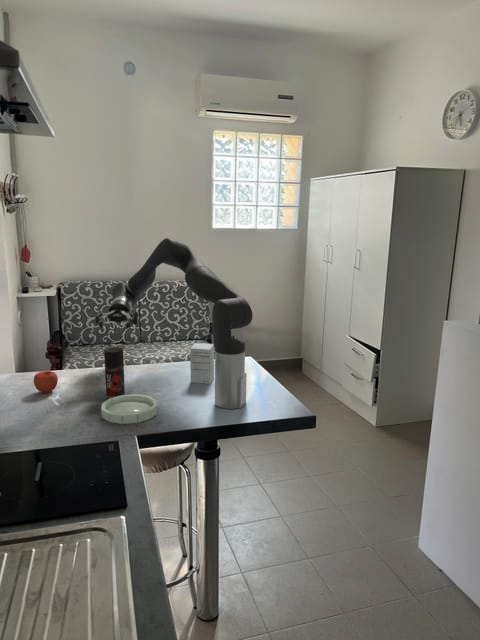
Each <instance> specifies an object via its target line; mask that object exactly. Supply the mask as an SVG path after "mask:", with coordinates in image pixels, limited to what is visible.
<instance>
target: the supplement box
mask: <svg viewBox="0 0 480 640" xmlns="http://www.w3.org/2000/svg"><path fill="white" fill-rule="evenodd" d="M189 353H190V355H189V356H190V357H189V358H190V359H189V360H190V366H189V367H190V383H192V384H193V383H194V384H206V385H207V384H209V385H210V384H211V383H212V382H213V380H214V379H215V344H214V343H197V342H196V343H194V344H193V345H192V346H191V347H190V349H189Z"/></svg>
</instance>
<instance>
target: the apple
mask: <svg viewBox="0 0 480 640" xmlns="http://www.w3.org/2000/svg"><path fill="white" fill-rule="evenodd" d="M58 380H59V377H58V375H57V373H56V372H54V371H51V368H49V370H41V371H39V372H37V373H35V374H34V376H33V385H34V387H35V388H36V390H37V391H38V392H41V394H46V395H47V394H49V393H51V392H52V391H54V390H55V389H56V387H57V385H58V382H59V381H58Z"/></svg>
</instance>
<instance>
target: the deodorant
mask: <svg viewBox="0 0 480 640" xmlns="http://www.w3.org/2000/svg"><path fill="white" fill-rule="evenodd" d="M103 352H104V353H103V354H104V375H105V393H106V394H105V395H106V396H107V397H109V398H114V397H117V396H121V395H122V396H123V395H126V391H125V389H126V388H125V368H124V365H125V364H124V363H125V361H124V349H123V348H122V347H120V346H119V347H118V346H111V347H107V348H105V349H104V350H103Z"/></svg>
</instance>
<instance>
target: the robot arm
mask: <svg viewBox="0 0 480 640" xmlns="http://www.w3.org/2000/svg"><path fill="white" fill-rule="evenodd" d="M162 264H165V265H168V266H170V267H174V268H177V269H179V270H181V271H182V272H183V273H184V281H185V284H186V286H187V287H188V288H189V289H190V290H191V291H192V292H193V293H194V294H195V295H196V296H197V297H199V298H200V299H203V300H204V301H207V302H210V303H212V304H213V305H212V306H213V308H212V313H211V314H212V315H211V316H212V337H213V344H214V405H215V406H216V407H219V408H221V409H227V410H228V409H231V410H232V409H242V407H244V405H245V403H246V402H247V376H248V375H247V373H246V372H245V371H246V367H245V366H246V343H245V341H244V340H242V339H240V338H237V337H233V336H232V330H235V329H236V330H237V329H242V328H245V327H247V326H249V325H250V324H251V323H252V321H253V316H254V315H253V310H252V308H251V306H250V304H249V303H248V301H247V300H246V299H245V298H244V297H243V296H242V295H240V294H238V293H237V292H236V291H234V290H232V288H230V287H229V286H228V285H227V284H226V283H225V282H224V281H222V280H221V279H220V278H219V277H218V276H217V275H216V274H215V272H213V271H212V270H211V269H210V268H209V267H208V266H207V265H206V264H205V263H204V262H202V261H201V260H200V259H199V258H198V257H197V256H196V254H195V253H194V252H193V250H192V249H191V247H190V246H189V245H187V244H186V243H184V242H182V241H179V240H176V239H173V238H169V237H166V238H163V240H161V241H160V242H159V243H158V244H157V246H156V247H155V248H154V250H153V251H152V252H151V254H150V256H149V257H148V258H147V260H146V261H145V263H144V264H143V266H141V268H140V269H139V270H138V271H137V272H136V273H134V274H133V275H132V276H131V277H130V278H129V279H128V281H127V283H126V282H124V281H123V282H118V283H116V285H115V286H113V289H112V292H111V294H112V295H111V296H112V302H111V304H110V306H109V308H108V311H106V312H103V311H102V310H98V311H97V313H96V314H95V317H94V318H95V319H94V322H95V324H98V327H100V329H101V328H102V329H103V327H104V326H105V324H107V325H108V324H111V323H119V324H120V323H122V324H125V325H126V327H125V328H126V329H129V328H131V327H132V325H133V324H134V325H136V326H137V325H138V322H139V312H137V311H136V312H133V313H131V312H132V308H133V307H134V306H136V304H137V303H138V301H139V299H140V297H141V295H142V294H143V293H144V291H145V290H147V289H148V288H149V287H150V286H151V285H152V284H153V283H154V281H155V279H156V274H157V273H156V272H157V268H158V267H159V266H161V265H162Z"/></svg>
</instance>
